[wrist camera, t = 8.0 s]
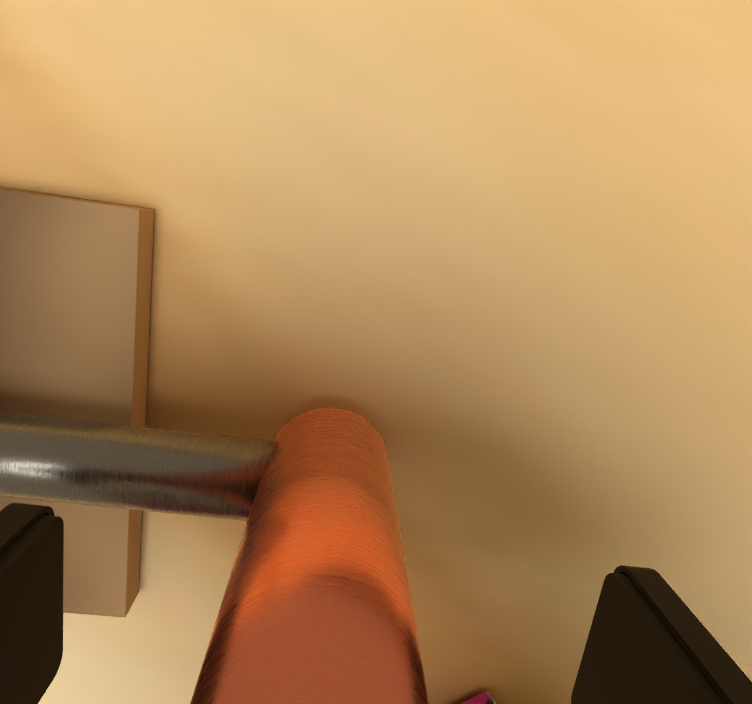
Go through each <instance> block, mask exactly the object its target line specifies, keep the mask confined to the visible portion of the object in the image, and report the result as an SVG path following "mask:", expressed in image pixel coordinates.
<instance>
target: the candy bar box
mask: <svg viewBox="0 0 752 704" xmlns="http://www.w3.org/2000/svg"><path fill="white" fill-rule="evenodd" d="M460 704H496V702H495V701H494V699H493V698H492V696H491V695H490V693H489V692H483V693H481V694H479V695H477V696H475V697H473V698H471V699H469V700H467V701H465V702H462V703H460Z"/></svg>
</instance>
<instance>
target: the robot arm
mask: <svg viewBox="0 0 752 704" xmlns="http://www.w3.org/2000/svg"><path fill="white" fill-rule="evenodd" d="M63 558H64V523H63V519H62V518H61V517H58V516H54V511H53V509H52V508H51V507H50V506H42V505H32V504H23V503H11V504H9V505H7V506H6V507H5V508H4V509H2V510H1V511H0V704H38V702H39V701H40V699H41V698H42V696H43V695H44V693H45V691H46V690H47V688H48V687H49V685H50V684H51V682H52V681H53V679H54V677H55V675H56V673H57V671H58V669H59V666H60V663H61V659H62V653H63ZM571 704H752V682H751V681H750V680H749V678H748V677H747V676H746V675H745V674H744V673H743V671H742V670H741V669H740V668H739V667H738V666H737V664H736V663H735V662H734V661H733V660H732V659H731V657H730V656H729V655H728V654H727V653H726V652H725V650H724V649H723V648H722V647H721V646H720V644H719V643H718V642H717V641H716V640H715V639H714V637H713V636H712V635H711V634H710V633H709V632H708V630H707V629H706V628H705V627H704V626H703V625H702V623H701V622H700V621H699V620H698V619H697V618H696V616H695V615H694V614H693V613H692V612H691V611H690V609H689V608H688V607H687V606H686V605H685V604H684V602H683V601H682V600H681V599H680V598H679V597H678V595H677V594H676V593H675V592H674V591H673V590H672V588H671V587H670V586H669V585H668V584H667V583H666V581H665V580H664V579H663V578H662V577H661V576H660V574H659V573H658V572H656V571H655V570H653V569H650V568H640V567H631V566H619V567H617V568H616V569H615V571H614V573H610V574H608V575H607V576H606V578H605V580H604V583H603V587H602V590H601V594H600V597H599V601H598V604H597V608H596V611H595V615H594V618H593V622H592V625H591V629H590V632H589V636H588V639H587V643H586V646H585V650H584V653H583V657H582V660H581V664H580V667H579V671H578V674H577V678H576V681H575V685H574V688H573V692H572V697H571Z"/></svg>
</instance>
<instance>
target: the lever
mask: <svg viewBox="0 0 752 704" xmlns="http://www.w3.org/2000/svg"><path fill="white" fill-rule="evenodd" d="M0 497H10V498H20V499H30V500H40V501H51V502H61V503H71V504H81V505H91V506H102V507H112V508H122V509H132V510H142V511H152V512H163V513H173V514H183V515H193V516H203V517H214V518H224V519H234V520H244V521H247V524H246V527H245V530H244V534H243V537H242V540H241V543H240V546H239V550H238V553H237V556H236V559H235V562H234V566H233V569H232V572H231V575H230V578H229V582H228V585H227V588H226V591H225V594H224V598H223V601H222V604H221V607H220V610H219V614H218V617H217V620H216V623H215V626H214V630H213V633H212V636H211V639H210V642H209V646H208V649H207V652H206V655H205V658H204V662H203V665H202V668H201V671H200V674H199V678H198V681H197V684H196V687H195V690H194V694H193V697H192V700H191V703H190V704H429V703H428V697H427V691H426V685H425V679H424V673H423V667H422V661H421V655H420V649H419V643H418V637H417V630H416V624H415V618H414V612H413V606H412V600H411V594H410V588H409V582H408V576H407V570H406V564H405V558H404V552H403V546H402V540H401V533H400V527H399V521H398V515H397V509H396V503H395V497H394V491H393V485H392V479H391V473H390V467H389V461H388V455H387V450H386V446H385V443H384V441H383V439H382V437H381V435H380V434H379V432H378V431H377V429H376V428H375V427H374V426H373V425H372V424H371V423H370V422H368V421H367V420H366V419H365V418H363V417H361V416H360V415H358V414H356V413H354V412H352V411H348V410H345V409H340V408H332V407H324V408H316V409H311V410H308V411H305V412H303V413H301V414H299V415H297V416H295V417H294V418H292V419H290V420H289V421H288V422H287V423H286V424H285V425H284V426H283V427H282V428H281V429H280V430H279V432H278V433H277V434H276V436H275V438H274V440H273V441H266V440H257V439H248V438H239V437H230V436H221V435H213V434H204V433H195V432H186V431H177V430H168V429H159V428H150V427H141V426H132V425H123V424H114V423H105V422H96V421H87V420H78V419H69V418H60V417H51V416H42V415H33V414H24V413H15V412H6V411H0Z"/></svg>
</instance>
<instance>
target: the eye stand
mask: <svg viewBox="0 0 752 704" xmlns="http://www.w3.org/2000/svg"><path fill="white" fill-rule="evenodd" d="M153 229H154V209H149V208H142V207H135V206H128V205H121V204H115V203H108V202H101V201H94V200H87V199H80V198H74V197H67V196H60V195H53V194H46V193H39V192H33V191H26V190H19V189H12V188H5V187H0V411H6V412H15V413H24V414H33V415H42V416H51V417H60V418H69V419H78V420H87V421H96V422H105V423H114V424H123V425H132V426H141V427H145V425H146V400H147V376H148V352H149V327H150V303H151V278H152V254H153ZM11 503H23V504H32V505H42V506H50V507H51V508H52V509H53V511H54V516H58V517H61V518H62V519H63V523H64V558H63V612H65V613H78V614H90V615H103V616H115V617H126V615H127V613H128V611H129V609H130V608H131V606H132V604H133V602H134V600H135V598H136V596H137V594H138V593H139V571H140V547H141V522H142V510H132V509H122V508H112V507H102V506H91V505H81V504H71V503H61V502H51V501H40V500H30V499H20V498H10V497H0V511H1V510H2V509H4V508H5V507H6V506H7V505H9V504H11Z"/></svg>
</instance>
